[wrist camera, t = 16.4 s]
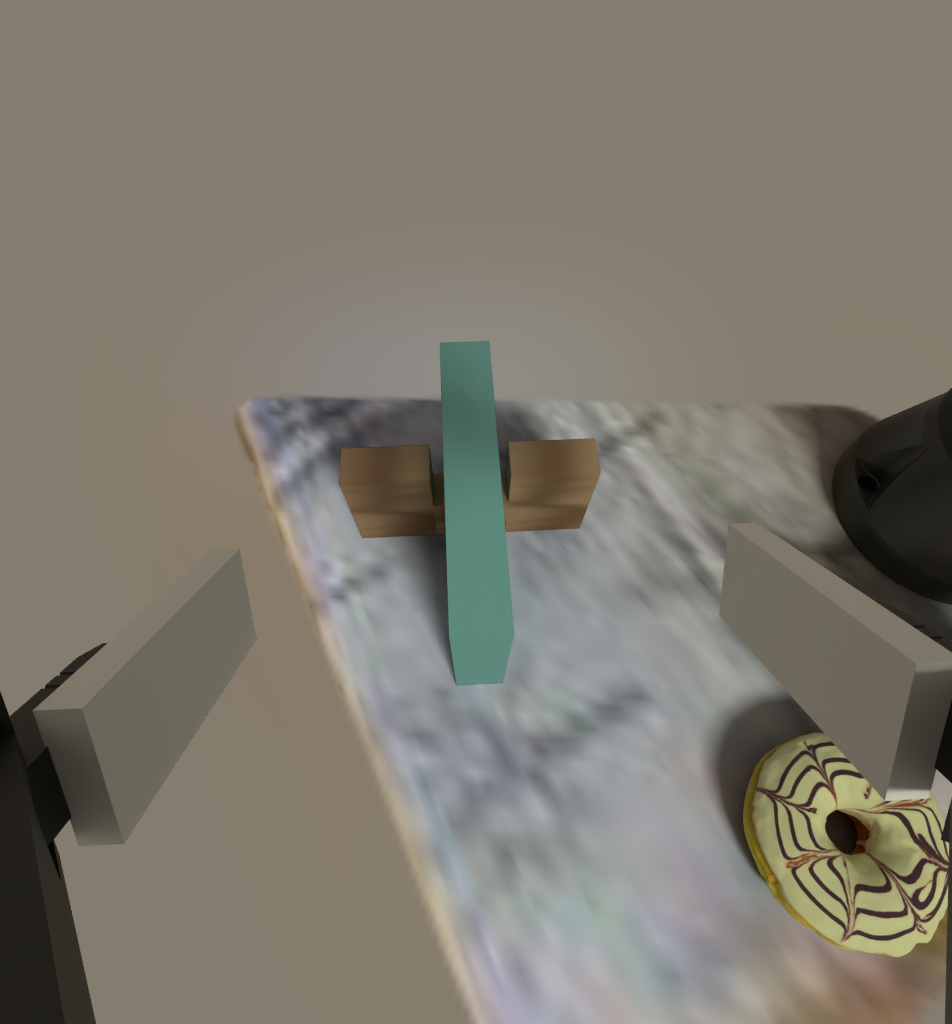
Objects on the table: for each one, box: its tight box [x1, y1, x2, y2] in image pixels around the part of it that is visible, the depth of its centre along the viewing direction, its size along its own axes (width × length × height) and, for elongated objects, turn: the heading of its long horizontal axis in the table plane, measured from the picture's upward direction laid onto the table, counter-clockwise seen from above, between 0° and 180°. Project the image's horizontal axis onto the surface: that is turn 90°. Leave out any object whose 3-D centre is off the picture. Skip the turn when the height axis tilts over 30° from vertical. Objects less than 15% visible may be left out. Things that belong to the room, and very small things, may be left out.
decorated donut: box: [743, 733, 949, 957], centre depth 32 cm, size 10×11×4 cm
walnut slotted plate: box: [339, 438, 601, 538], centre depth 39 cm, size 16×2×8 cm, turn 93°
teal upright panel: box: [440, 341, 514, 685], centre depth 36 cm, size 18×3×12 cm, turn 3°
